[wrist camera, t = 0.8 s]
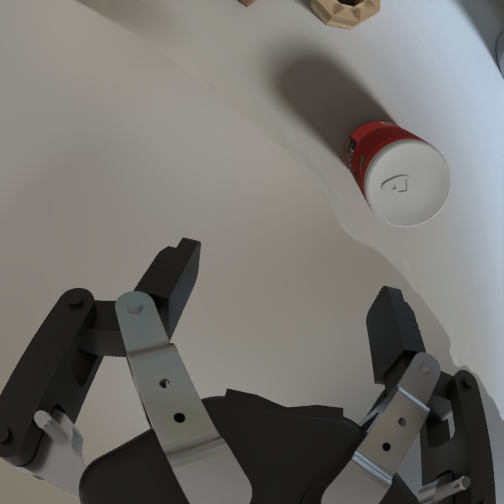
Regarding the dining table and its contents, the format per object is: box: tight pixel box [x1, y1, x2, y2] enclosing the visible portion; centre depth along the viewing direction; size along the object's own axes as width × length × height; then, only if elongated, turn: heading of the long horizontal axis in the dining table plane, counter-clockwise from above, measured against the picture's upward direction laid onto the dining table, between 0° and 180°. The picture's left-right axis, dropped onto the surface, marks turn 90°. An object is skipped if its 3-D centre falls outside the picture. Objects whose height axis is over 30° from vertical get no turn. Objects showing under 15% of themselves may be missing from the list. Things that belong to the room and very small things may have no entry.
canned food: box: [345, 121, 452, 227], centre depth 26 cm, size 8×8×11 cm
